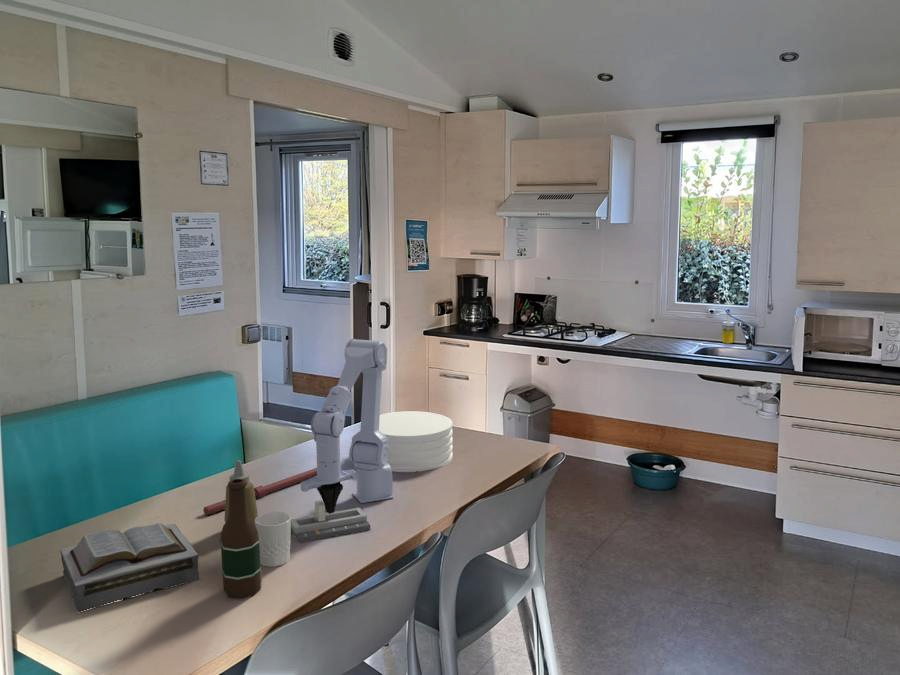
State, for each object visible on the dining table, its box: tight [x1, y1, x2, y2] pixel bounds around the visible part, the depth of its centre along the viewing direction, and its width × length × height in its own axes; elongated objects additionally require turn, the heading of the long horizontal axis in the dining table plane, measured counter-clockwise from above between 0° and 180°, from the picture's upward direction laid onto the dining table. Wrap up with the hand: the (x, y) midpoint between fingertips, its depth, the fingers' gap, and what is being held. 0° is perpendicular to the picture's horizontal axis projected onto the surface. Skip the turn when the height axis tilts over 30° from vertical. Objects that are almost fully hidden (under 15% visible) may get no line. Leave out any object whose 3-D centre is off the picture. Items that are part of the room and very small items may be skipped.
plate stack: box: [365, 410, 454, 473], centre depth 240 cm, size 28×28×12 cm
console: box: [291, 507, 371, 543], centre depth 188 cm, size 18×11×3 cm, turn 115°
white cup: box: [255, 511, 292, 568], centre depth 170 cm, size 8×8×10 cm
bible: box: [60, 522, 200, 613], centre depth 162 cm, size 23×27×10 cm
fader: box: [313, 499, 328, 523], centre depth 186 cm, size 3×4×6 cm
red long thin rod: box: [203, 467, 317, 516], centre depth 212 cm, size 45×3×3 cm, turn 141°
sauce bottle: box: [220, 479, 262, 600], centre depth 155 cm, size 8×8×24 cm
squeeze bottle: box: [224, 460, 259, 524], centre depth 184 cm, size 8×8×18 cm
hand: (330, 511), depth 187 cm, fingers closed
